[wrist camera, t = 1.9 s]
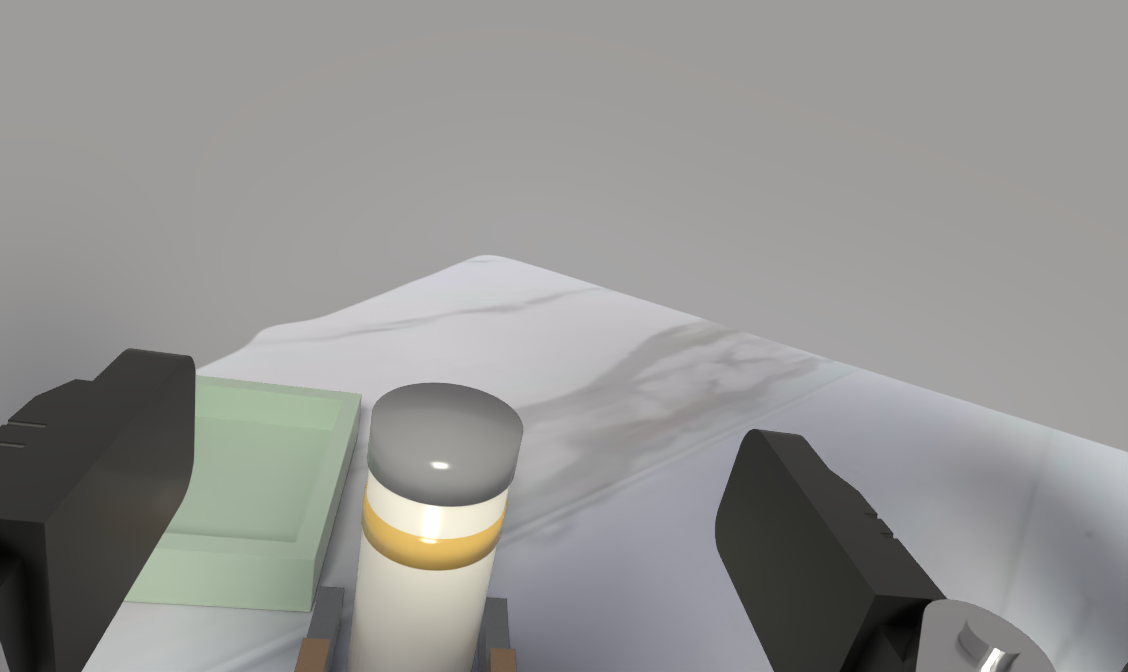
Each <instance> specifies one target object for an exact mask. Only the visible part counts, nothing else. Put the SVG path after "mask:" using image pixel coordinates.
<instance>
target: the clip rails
mask: <svg viewBox="0 0 1128 672" xmlns="http://www.w3.org/2000/svg"><path fill="white" fill-rule="evenodd" d="M343 593H344V588H336V587H321V586H320V590H319V593H318V597H317V601H316V605H315V609H314V613H313V616H312V620H311V624H310V628H309V632H308V636H307V638H303V641H302V645H301V649H300V652H299V656H298V660H297V663H296V667H295V671H294V672H330V669H331V664H332V660H333V655H334V650H335V646H336V641H337V636H338V632H339V627H340V622H341V612H342V603H343ZM478 658H479V672H517V671H516V657H515V649H510V646H509V630H508V613H507V599H503V598H488V597H486V602H485V607H484V612H483V616H482V621H481V626H480V631H479V636H478Z"/></svg>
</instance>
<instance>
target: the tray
mask: <svg viewBox="0 0 1128 672" xmlns="http://www.w3.org/2000/svg"><path fill="white" fill-rule="evenodd" d="M361 397H362V394H354V393H346V392H337V391H328V390H320V389H311V388H302V387H294V386H285V385H276V384H268V383H259V382H250V381H241V380H233V379H224V378H215V377H207V376H198V375H196V382H195V443H194V464H193V470H192V475H191V479H190V483H189V486H188V490H187V492H186V495H185V497H184V500H183V501H182V503H181V505H180V507H179V508H178V510H177V512H176V514H175V515H174V517H173V519H172V520H171V522H170V524H169V525H168V527H167V529H166V530H165V532H164V534H163V535H162V537H161V539H160V540H159V542H158V544H157V545H156V547H155V549H154V550H153V552H152V554H151V555H150V557H149V559H148V561H147V562H146V564H145V566H144V567H143V569H142V571H141V572H140V574H139V576H138V577H137V579H136V581H135V582H134V584H133V586H132V587H131V589H130V591H129V592H128V594H127V596H126V597H125V599H124V601H133V602H149V603H166V604H183V605H200V606H217V607H233V608H250V609H267V610H284V611H301V612H310V611H311V607H312V604H313V600H314V596H315V592H316V589H317V585H318V581H319V578H320V574H321V570H322V566H323V563H324V559H325V555H326V551H327V548H328V544H329V540H330V536H331V533H332V529H333V525H334V521H335V518H336V514H337V510H338V506H339V503H340V499H341V495H342V492H343V488H344V484H345V480H346V477H347V473H348V469H349V465H350V462H351V458H352V454H353V450H354V447H355V443H356V439H357V435H358V426H359V416H360V406H361Z"/></svg>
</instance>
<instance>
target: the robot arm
mask: <svg viewBox="0 0 1128 672" xmlns="http://www.w3.org/2000/svg"><path fill="white" fill-rule="evenodd" d="M195 382H196V373H195V364H194V361H193V359H192V357H190V356H186V355H179V354H171V353H163V352H155V351H147V350H139V349H127V350H125V351H124V352H122V354H120V355H119V356H118V357H117V358H116V359H115V360H114V361H113V362H112V363H111V364H110V365H109V366H108V367H107V368H106V369H105V370H104V371H103V372H102V373H101V374H100V375H99V376H97V377H96V378H95V380H93V381H86V380H77V379H75V380H73V381H70V382H68V383H66V384H63V385H61V386H59V387H56V388H54V389H52V390H49V391H47V392H45V393H42V394H40V395H38V396H35V397H34V398H33V399H32V400H31V401H29V402H28V403H27V404H26V405H25V406H24V407H23V408H21V409H20V410H19V411H18V412H17V413H16V414H15V415H13V416H12V417H11V418H10V419H9V420H8V424H7V425H2V426H1V427H0V672H81V671H82V670H83V668H84V666H85V665H86V663H87V661H88V660H89V658H90V656H91V655H92V653H93V651H94V650H95V648H96V646H97V644H98V643H99V641H100V639H101V638H102V636H103V634H104V633H105V631H106V629H107V628H108V626H109V624H110V623H111V621H112V619H113V618H114V616H115V614H116V613H117V611H118V609H119V608H120V606H121V604H122V602H123V601H124V599H125V597H126V596H127V594H128V592H129V591H130V589H131V587H132V586H133V584H134V582H135V581H136V579H137V577H138V576H139V574H140V572H141V571H142V569H143V567H144V566H145V564H146V562H147V561H148V559H149V557H150V555H151V554H152V552H153V550H154V549H155V547H156V545H157V544H158V542H159V540H160V539H161V537H162V535H163V534H164V532H165V530H166V529H167V527H168V525H169V524H170V522H171V520H172V519H173V517H174V515H175V514H176V512H177V510H178V508H179V507H180V505H181V503H182V501H183V500H184V497H185V495H186V492H187V490H188V486H189V483H190V479H191V475H192V470H193V464H194V443H195ZM877 515H878V514H877V513H876V512H875V511H874V509H873V508H872V507H871V506H870V505H869V503H868V502H867V501H866V500H865V499H864V497H863V496H862V495H861V494H860V492H859V491H858V490H856V489H855V488H854V487H852V486H851V485H850V484H848V483H847V482H846V481H844V480H843V479H842V478H840V477H839V476H838V475H836V474H835V473H834V472H832V471H831V470H829V468H828V467H827V466H826V465H825V463H824V462H823V461H822V460H821V458H820V457H819V456H818V455H817V453H816V452H815V451H814V450H813V448H812V447H811V446H810V445H809V443H808V442H807V441H806V440H805V439H804V438H803V437H802V436H801V435H797V434H790V433H782V432H774V431H766V430H758V429H752V430H750V431H749V432H748V433H747V434H746V435H745V437H744V438H743V440H742V443H741V445H740V448H739V451H738V454H737V457H736V460H735V463H734V465H733V468H732V471H731V474H730V477H729V480H728V483H727V486H726V488H725V491H724V494H723V497H722V500H721V503H720V506H719V509H718V512H717V516H716V523H715V539H716V545H717V549H718V552H719V555H720V557H721V559H722V561H723V563H724V565H725V568H726V570H727V572H728V574H729V576H730V578H731V580H732V583H733V585H734V587H735V589H736V591H737V593H738V595H739V598H740V600H741V602H742V604H743V606H744V608H745V610H746V613H747V615H748V617H749V619H750V621H751V623H752V625H753V628H754V630H755V632H756V634H757V636H758V638H759V640H760V643H761V645H762V647H763V649H764V651H765V653H766V655H767V658H768V660H769V662H770V664H771V666H772V668H773V670H774V672H1056V671H1055V669H1054V667H1053V665H1052V663H1051V662H1050V660H1049V659H1048V657H1047V656H1046V654H1045V653H1044V652H1043V651H1042V650H1041V649H1040V647H1039V646H1038V645H1037V644H1036V643H1035V642H1034V641H1033V640H1031V639H1030V638H1029V637H1028V636H1027V635H1026V634H1024V633H1023V632H1022V631H1021V630H1019V629H1018V628H1017V627H1015V626H1014V625H1012V624H1011V623H1009V622H1008V621H1006V620H1005V619H1003V618H1001V617H1000V616H998V615H996V614H994V613H992V612H990V611H988V610H986V609H983V608H981V607H978V606H976V605H973V604H970V603H967V602H962V601H958V600H950V599H947V598H946V597H945V596H944V594H943V593H942V592H941V591H940V590H939V588H938V587H937V586H936V585H935V584H934V582H933V581H932V580H931V579H930V577H929V576H928V575H927V574H926V573H925V571H924V570H923V569H922V568H921V567H920V565H919V564H918V563H917V562H916V560H915V559H914V558H913V557H912V556H911V554H910V553H909V552H908V551H907V550H906V548H905V547H904V546H903V545H902V543H901V542H900V541H899V540H898V539H895V538H893V533H892V531H891V530H890V529H889V528H888V526H887V525H886V524H885V523H884V522H883V520H882V519H877ZM1121 672H1128V663H1127V664H1126V665H1125V667H1124V668H1123V670H1122V671H1121Z"/></svg>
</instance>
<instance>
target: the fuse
mask: <svg viewBox="0 0 1128 672" xmlns="http://www.w3.org/2000/svg"><path fill="white" fill-rule="evenodd" d="M522 435H523V425H522V421H521V419H520V417H519V416H518V414H517V413H516V412H515V411H514V410H513V409H512V408H511V407H510V406H509V405H508V404H506V403H505V402H503V401H502V400H500V399H498V398H497V397H495V396H493V395H490V394H488V393H486V392H483V391H480V390H478V389H474V388H470V387H466V386H462V385H456V384H448V383H420V384H412V385H407V386H403V387H400V388H397V389H394V390H392V391H390V392H388V393H386V394H385V395H383V396H382V397H381V398H380V399H379V400H378V401H377V402H376V404H375V405H374V407H373V410H372V418H371V427H370V436H369V445H368V454H367V463H368V467H369V474H368V481H367V484H366V487H365V496H364V505H363V514H362V537H361V545H360V554H359V563H358V572H357V581H356V590H355V599H354V608H353V617H352V626H351V635H350V643H349V652H348V661H347V670H346V672H471V671H472V666H473V661H474V656H475V651H476V646H477V641H478V636H479V631H480V626H481V621H482V616H483V612H484V607H485V602H486V597H487V592H488V587H489V582H490V577H491V572H492V567H493V562H494V557H495V552H496V547H497V543H498V541H499V539H500V535H501V530H502V525H503V520H504V515H505V511H506V506H507V493H508V488H509V485H510V484H511V482H512V480H513V478H514V474H515V469H516V464H517V459H518V454H519V450H520V445H521V440H522Z"/></svg>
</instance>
